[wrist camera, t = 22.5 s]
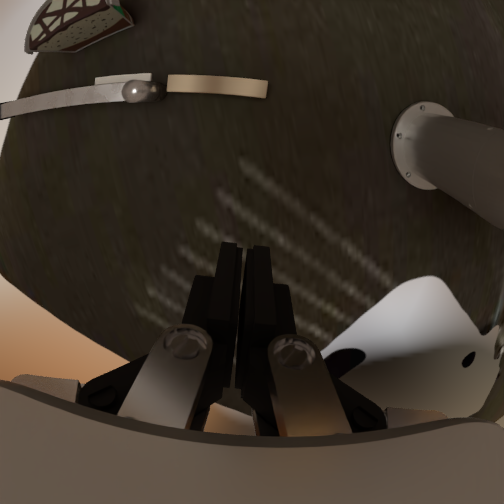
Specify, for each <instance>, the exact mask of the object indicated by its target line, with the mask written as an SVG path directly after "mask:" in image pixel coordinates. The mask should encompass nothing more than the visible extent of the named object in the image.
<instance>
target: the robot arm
mask: <svg viewBox="0 0 504 504" xmlns="http://www.w3.org/2000/svg"><path fill="white" fill-rule="evenodd" d="M397 134H398V136H397ZM390 146H391V155H392V159H393V162H394V164H395V167H396V169H397V171H398V172H399V174H400V175H401V176H402V177H403V178H404V179H405V180H406V181H407V182H408V183H410V184H411V185H413V186H415V187H417V188H420V189H423V190H433V189H437V188H439V189H440V190H442V191H444V192H445V193H447V194H448V195H450V196H451V197H453V198H454V199H456V200H458V201H459V202H461V203H462V204H464V205H465V206H466V207H468V208H469V209H471V210H472V211H474V212H475V213H477V214H478V215H479V216H481V217H482V218H484V219H485V220H487V221H488V222H489V223H491V224H492V225H494V226H495V227H497V228H499V229H502V230H504V130H503V129H499V128H496V127H492V126H488V125H485V124H481V123H477V122H473V121H469V120H464V119H460V118H455V117H454V116H453V115H452V113H451V112H450V111H448V110H447V109H446V108H445V107H443V106H441V105H440V104H437V103H434V102H427V101H424V102H417V103H414V104H412V105H410V106H408V107H407V108H405V109H404V110H403V111H402V112H401V113H400V115H399V116H398V118H397V119H396V122H395V124H394V126H393V129H392V134H391V142H390ZM406 173H407V174H406ZM242 251H243V248H238V247H237V243H229V242H222V243H221V248H220V253H219V258H218V263H217V268H216V273H215V277H209V276H200V275H196V276H195V278H194V281H193V285H192V288H191V292H190V295H189V299H188V302H187V306H186V309H185V313H184V317H183V320H182V324H177V325H174V326H170V327H168V328H167V329H165V330H164V331H163V332H162V333H161V334H160V335H159V337H158V339H157V341H156V342H155V344H154V346H153V348H152V350H151V352H150V353H149V354H147V355H145V356H143V357H140V358H138V359H136V360H134V361H132V362H130V363H127V364H125V365H123V366H121V367H119V368H117V369H114V370H112V371H110V372H108V373H105V374H103V375H101V376H98V377H96V378H94V379H92V380H90V381H89V382H87V383H86V384H80V382H79V381H78V380H70V379H60V378H51V377H43V376H35V375H28V374H25V375H19V376H17V377H15V378H14V379H13V380H12V381H11V382H10V381H4V380H0V504H504V428H502V427H501V426H500V425H498V424H497V423H494V422H492V421H488V420H484V419H478V418H449V419H448V417H447V416H446V415H445V414H443V413H442V412H439V411H435V410H416V409H403V408H391V407H387V408H386V409H385V410H381V408H380V407H379V406H377V405H376V404H375V403H373V402H372V401H370V400H369V399H367V398H366V397H364V396H363V395H361V394H360V393H358V392H357V391H355V390H354V389H352V388H351V387H349V386H348V385H346V384H345V383H343V382H342V381H341V380H339V379H338V378H336V377H335V376H333V375H332V374H330V373H329V372H328V370H327V367H326V365H325V363H324V360H323V358H322V355H321V353H320V351H319V349H318V347H317V346H316V345H315V344H314V343H313V342H312V341H311V340H309V339H307V338H305V337H303V336H300V335H297V333H296V327H295V321H294V315H293V309H292V303H291V297H290V291H289V286H288V285H285V284H275V283H273V278H272V268H271V258H270V248H269V247H265V246H256V245H254V247H253V249H247V255H246V263H245V270H244V278H243V285H242V293H241V300H240V308H239V299H240V283H241V267H242ZM238 315H239V320H238ZM237 326H238V338H237V356H236V374H235V388H236V389H241V398H243V400H244V401H245V402H246V403H247V404H249V405H250V406H251V407H252V417H253V423H254V428H255V434H256V436H246V435H231V434H220V433H210V432H203V431H204V427H205V424H206V421H207V417H208V414H209V411H210V405H211V404H213V403H215V402H216V401H218V400H219V399H221V398H222V392H223V387H225V388H230V380H231V373H232V365H233V357H234V350H235V342H236V334H237Z"/></svg>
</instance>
